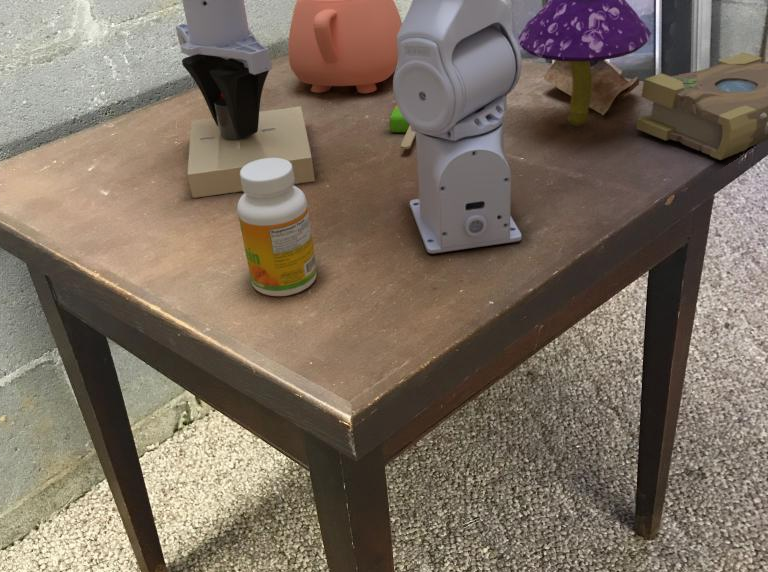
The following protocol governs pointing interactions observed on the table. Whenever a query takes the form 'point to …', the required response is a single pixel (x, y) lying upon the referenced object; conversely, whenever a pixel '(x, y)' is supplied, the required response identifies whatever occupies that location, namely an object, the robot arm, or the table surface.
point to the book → (711, 106)
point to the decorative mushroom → (583, 40)
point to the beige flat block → (246, 151)
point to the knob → (225, 120)
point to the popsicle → (401, 128)
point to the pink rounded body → (344, 43)
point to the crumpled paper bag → (593, 82)
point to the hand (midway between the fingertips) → (237, 128)
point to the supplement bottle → (275, 228)
